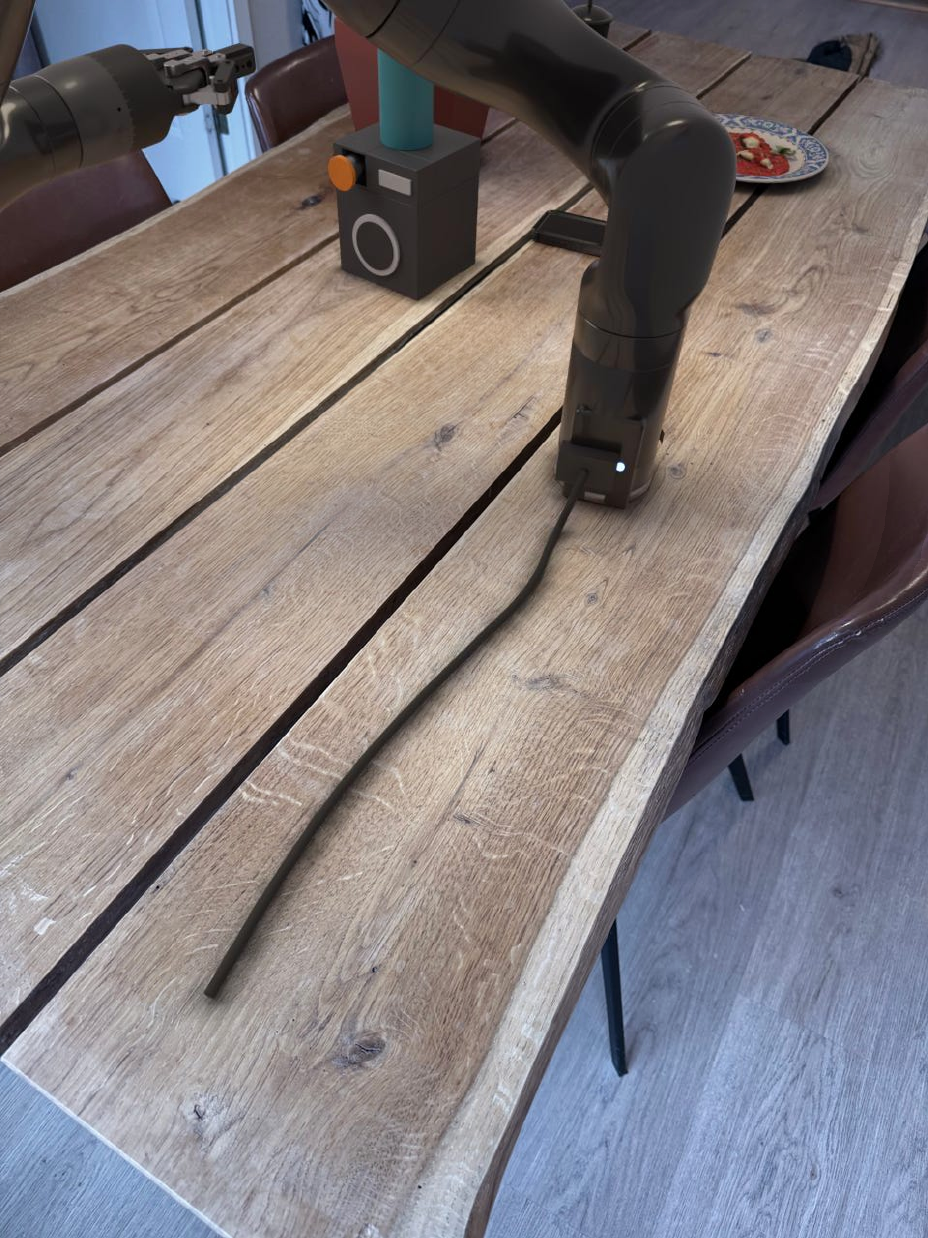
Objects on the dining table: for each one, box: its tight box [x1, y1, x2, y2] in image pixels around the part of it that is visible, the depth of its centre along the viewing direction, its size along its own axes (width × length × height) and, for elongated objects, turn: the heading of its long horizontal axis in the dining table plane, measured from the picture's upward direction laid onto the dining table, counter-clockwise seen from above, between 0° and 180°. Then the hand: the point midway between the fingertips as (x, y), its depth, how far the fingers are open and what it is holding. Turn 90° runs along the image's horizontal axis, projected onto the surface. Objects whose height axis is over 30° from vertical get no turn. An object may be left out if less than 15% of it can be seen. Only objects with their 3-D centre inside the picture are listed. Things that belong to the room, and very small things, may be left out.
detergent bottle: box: [378, 48, 434, 150], centre depth 97 cm, size 6×6×14 cm
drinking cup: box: [570, 0, 614, 40], centre depth 145 cm, size 8×8×20 cm
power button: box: [327, 152, 366, 191], centre depth 102 cm, size 4×4×4 cm
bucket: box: [333, 16, 490, 143], centre depth 127 cm, size 24×22×25 cm
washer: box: [332, 121, 482, 301], centre depth 108 cm, size 13×12×15 cm
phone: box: [530, 208, 607, 257], centre depth 120 cm, size 8×1×15 cm
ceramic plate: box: [712, 113, 830, 184], centre depth 139 cm, size 26×26×3 cm
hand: (249, 56), depth 84 cm, fingers closed
